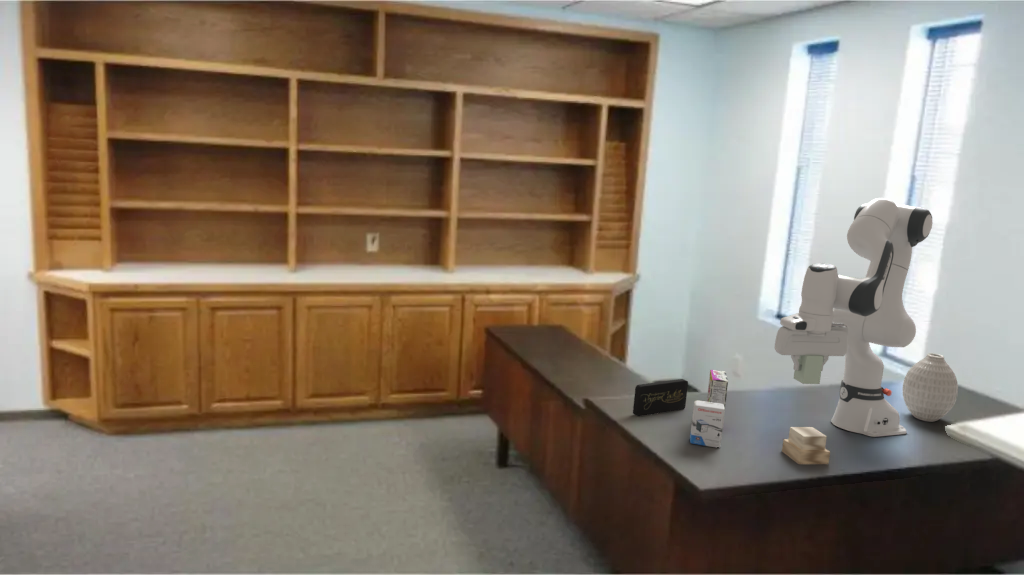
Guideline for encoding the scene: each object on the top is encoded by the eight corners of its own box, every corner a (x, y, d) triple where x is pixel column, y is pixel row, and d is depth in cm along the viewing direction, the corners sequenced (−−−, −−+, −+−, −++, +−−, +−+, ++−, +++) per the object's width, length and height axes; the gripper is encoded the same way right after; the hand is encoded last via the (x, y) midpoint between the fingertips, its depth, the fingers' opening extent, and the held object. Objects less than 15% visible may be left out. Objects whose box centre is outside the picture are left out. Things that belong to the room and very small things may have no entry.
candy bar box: (703, 418, 235) (709, 369, 232) (720, 420, 234) (726, 371, 231) (705, 430, 224) (712, 378, 222) (722, 433, 224) (729, 381, 221)
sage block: (809, 378, 210) (813, 351, 209) (819, 384, 205) (823, 356, 204) (793, 378, 209) (797, 351, 208) (802, 383, 204) (806, 355, 203)
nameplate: (636, 417, 232) (639, 386, 231) (632, 415, 234) (635, 385, 232) (685, 409, 243) (688, 380, 242) (681, 407, 245) (684, 378, 243)
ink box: (689, 444, 213) (694, 405, 211) (689, 437, 218) (694, 399, 215) (720, 448, 211) (725, 409, 209) (719, 442, 216) (724, 403, 214)
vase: (907, 406, 263) (917, 346, 259) (958, 420, 252) (969, 357, 248) (891, 415, 252) (901, 352, 248) (943, 430, 240) (955, 364, 237)
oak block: (810, 452, 214) (812, 439, 213) (828, 465, 205) (830, 451, 204) (781, 452, 212) (783, 439, 212) (798, 465, 204) (800, 451, 203)
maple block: (810, 440, 212) (812, 427, 211) (824, 449, 205) (826, 436, 205) (788, 440, 211) (790, 427, 210) (801, 450, 204) (803, 436, 203)
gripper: (842, 320, 209) (835, 367, 211) (775, 318, 205) (768, 366, 208) (855, 325, 203) (848, 374, 205) (786, 323, 199) (780, 373, 202)
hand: (807, 370), depth 207 cm, fingers closed on sage block, 5 cm apart
